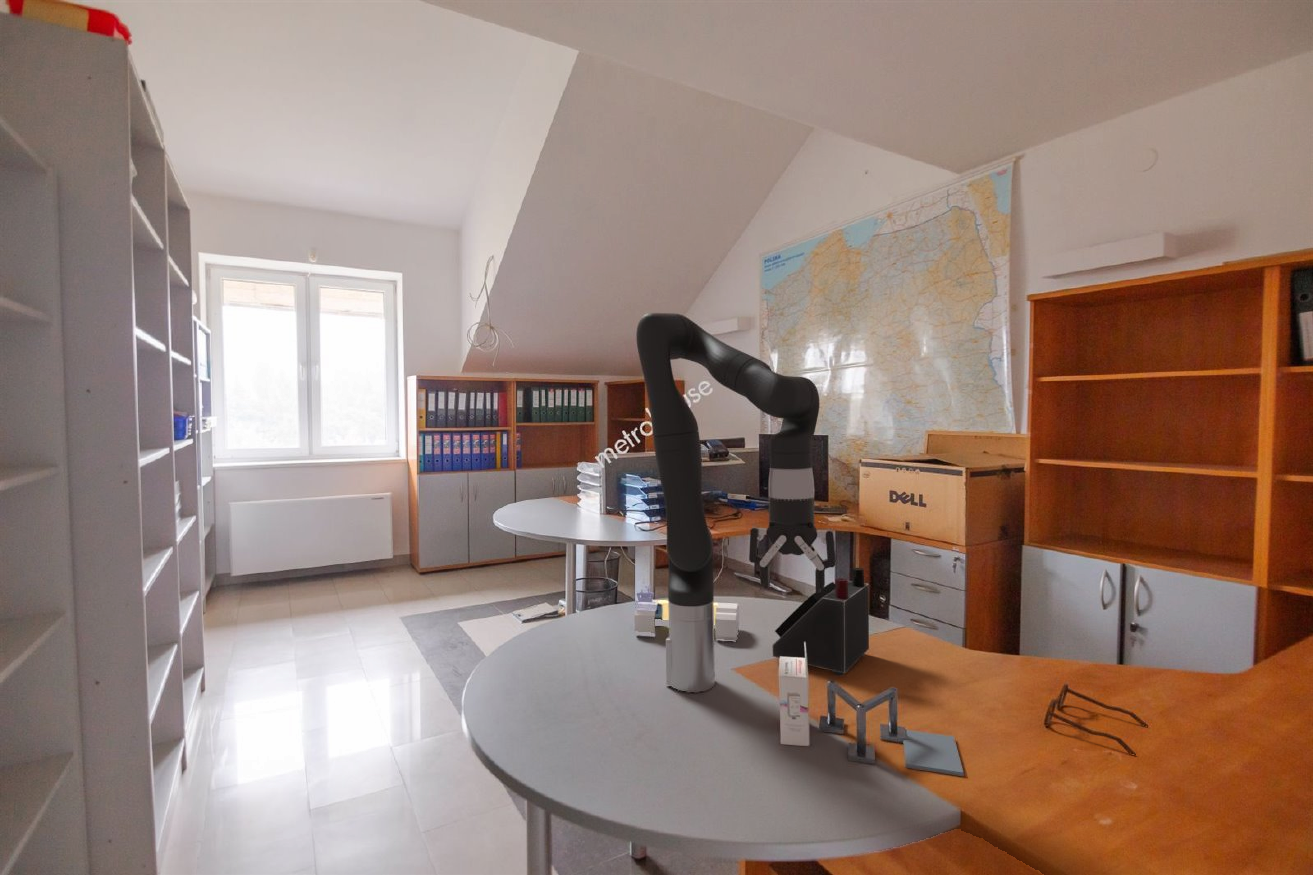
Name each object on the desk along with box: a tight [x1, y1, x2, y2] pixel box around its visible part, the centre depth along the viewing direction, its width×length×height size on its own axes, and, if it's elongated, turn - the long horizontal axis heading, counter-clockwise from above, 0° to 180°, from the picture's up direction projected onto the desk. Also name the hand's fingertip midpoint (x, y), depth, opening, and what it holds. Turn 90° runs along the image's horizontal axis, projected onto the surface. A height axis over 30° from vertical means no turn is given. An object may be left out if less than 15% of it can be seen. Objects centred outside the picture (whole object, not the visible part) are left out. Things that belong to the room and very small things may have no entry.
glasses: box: [1043, 683, 1149, 756], centre depth 106 cm, size 13×13×5 cm
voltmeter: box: [772, 567, 870, 677], centre depth 138 cm, size 16×16×20 cm
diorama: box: [634, 585, 740, 641], centre depth 156 cm, size 25×10×13 cm, turn 78°
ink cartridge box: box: [778, 642, 810, 747], centre depth 106 cm, size 9×5×15 cm, turn 168°
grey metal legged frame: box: [818, 679, 907, 765], centre depth 102 cm, size 14×12×8 cm
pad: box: [902, 729, 964, 777], centre depth 99 cm, size 8×11×1 cm
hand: (792, 589), depth 105 cm, fingers open, 8 cm apart
